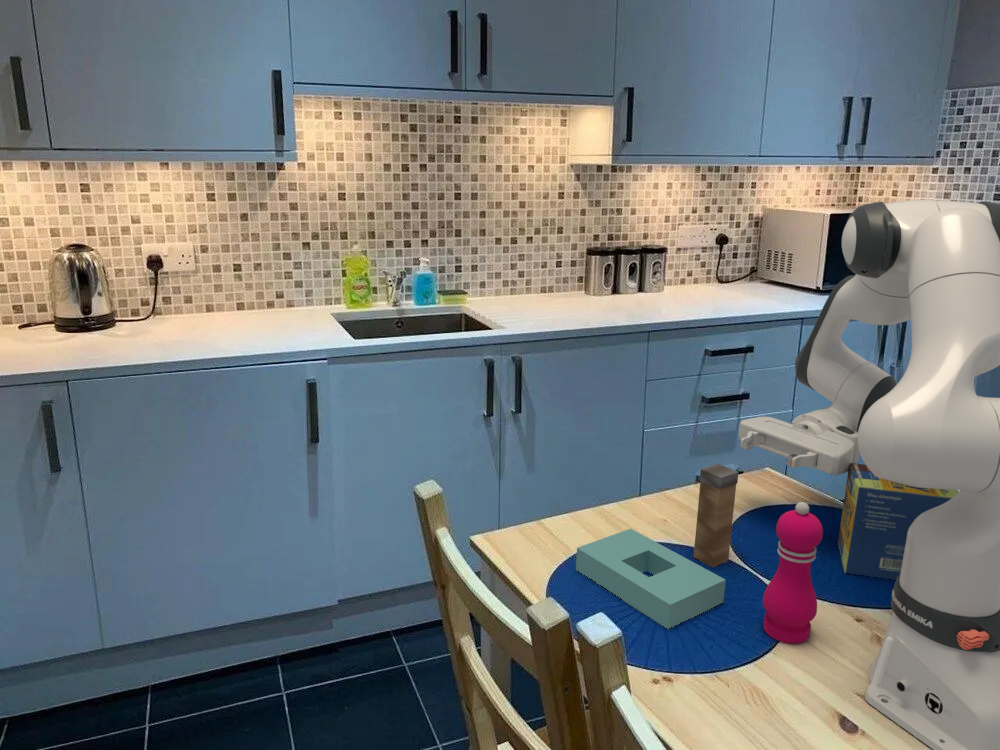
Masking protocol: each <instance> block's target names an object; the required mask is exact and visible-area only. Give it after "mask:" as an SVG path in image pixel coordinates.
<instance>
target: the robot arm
mask: <svg viewBox="0 0 1000 750" xmlns="http://www.w3.org/2000/svg"><path fill="white" fill-rule="evenodd" d="M841 235H842V236H841V249H842V250H841V251H842V254H843V257H844V262H845V266H846V267H847V268H848V269H849V270H850V271H851V272H852V273H854V274H855V275H854V274H853V275H847V276H846V277H844V278H843V279H842V280H840V281H839V282H838V283H837V284H836V285H835V286H834V288H833V289H832V290H831V292H830V293H829V296H828V297H827V299H826V300H825V303H824V304H823V306H822V309H821V311H820V313H819V315H818V318H817V320H816V321H815V324H814V326H813V328H812V331H811V333H810V334H809V337H808V339H807V340H806V342H805V343H804V345H803V347H802V348H801V349H800V351H799V353H798V354H797V356H796V358H795V362H794V369H795V375H796V378H797V381H798V382H799V383H801V384H802V385H804V386H805V387H807V388H810V389H811V390H813V391H815V392H817V393H818V394H820V395H821V396H823V397H824V398H825V399H826V400H829V401H830V402H831V403H832V404H831V405H829V406H827V407H825V408H824V409H821V408H820V409H815V410H813V411H809V412H807V413H802V414H800V415H798V416H796V417H795V418H793V420H791V423H790V422H787V421H784V420H781V419H778V418H775V417H772V416H756V417H751V418H747V419H746V418H745V419H742V420H741V421H740V422H739V424H738V425H739V426H738V439H739V440H740V445H739V447H740V448H742V449H745V450H747V451H749V450H753V448H754V446H755V447H757V448H759V449H763V450H765V451H768V452H771V453H773V454H776V455H779V456H780V457H784V458H786V462H785V463H786V464H785V465H786V466H788V467H791V468H793V469H797V468H799V467H800V468H801V467H802V468H803V467H804V468H812V469H815V470H817V471H819V472H820V471H821V472H823V473H825V474H828V475H835V476H836V475H837V476H839V475H842V474H845V473H848V471H849V466H850V464H851V463H855V464H858V462H859V457H861V458H862V460H863V462H864V465H866V466H867V467H868V468H869V470H870V471H871V472H872V473H873V474H874V475H875V476H876V477H878V478H881V479H885V480H889V481H892V482H896V483H900V484H904V485H908V486H913V487H917V488H931V489H947V490H958V493H957V494H956V495H955V496H954V497H953V498H951V499H950V500H949V501H947V502H946V503H944V504H942V505H940V506H937V507H935V508H932V509H930V510H927V511H925V512H924V513H922V514H920V515H919V516H918V517H917V518H916V519H915V520H914V521H913V523H912V524H911V526H910V527H909V530H908V533H907V538H906V544H905V550H904V555H903V561H902V567H901V573H900V575H898V576H897V578H896V581H895V582H894V586H893V589H892V591H891V601H890V607H891V610H892V613H891V617H890V621H889V623H888V627H887V629H886V633H885V634H884V638H883V641H882V643H881V646H880V649H879V651H878V653H877V655H876V657H875V659H874V660H873V662H872V664H871V665H870V667H869V669H868V679H869V685H868V687H867V688H866V690H865V695H864V698H865V701H866V702H867V703H868V704H870V705H871V706H872V707H873V708H875V709H876V710H878V712H881V713H882V714H883V715H884V716H886V717H887V718H888V719H890V720H892V722H894V723H896V724H897V725H898V726H900V727H901V728H903V729H904V730H906V731H907V732H908V733H909V734H911V735H913V736H914V737H915V738H917V739H918V740H920V741H921V742H922V743H924V744H925V745H927V747H930V749H931V750H1000V397H990V396H989V397H988V396H981V395H977V393H976V391H975V390H976V389H975V377H978V376H980V375H982V374H986V373H987V372H990V371H992V370H994V369H996V368H998V367H999V366H1000V203H996V202H989V201H980V202H977V203H975V202H968V201H959V200H934V199H932V198H931V199H914V200H912V199H911V200H902V201H893V202H888V203H885V202H884V201H876V202H870V203H866V204H863V205H860V206H859V205H858V206H857V207H856V208H855V209H854V210H853V211H852V212H851V213H850V214H849V216H848V218H847V220H846V224H845V226H844V227H843V231H842V234H841ZM851 320H853V321H858V322H863V323H867V324H870V325H873V326H874V325H875V326H891V325H898V324H901V323H903V322H907V321H909V320H910V325H911V350H910V351H911V352H910V358H909V362H908V364H907V367H906V370H905V371H904V374H903V376H902V377H901V378H900V380H899V381H898V382H896V379H895V377H893V375H891V374H889V373H888V372H886V371H885V370H883V369H882V368H880V367H879V366H877V365H875V364H874V363H872V362H870V361H869V360H867V359H865V358H864V357H862V356H861V355H859V354H858V353H856V352H855V351H854V350H851V349H850V348H849V347H848V346H847V345H846V344H845V343H844V342H843V340H842V336H843V334H844V332H845V330H846V328H847V326H848V325H849V322H850V321H851Z"/></svg>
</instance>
